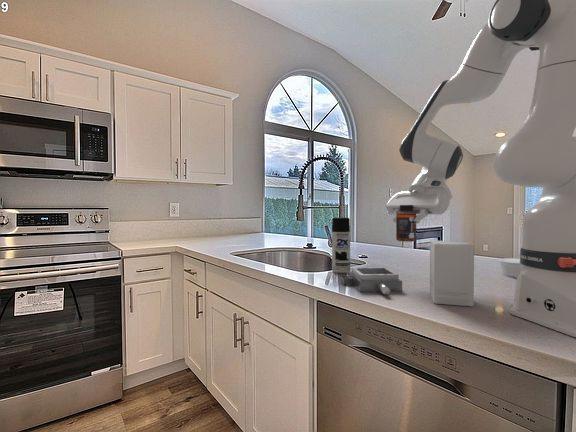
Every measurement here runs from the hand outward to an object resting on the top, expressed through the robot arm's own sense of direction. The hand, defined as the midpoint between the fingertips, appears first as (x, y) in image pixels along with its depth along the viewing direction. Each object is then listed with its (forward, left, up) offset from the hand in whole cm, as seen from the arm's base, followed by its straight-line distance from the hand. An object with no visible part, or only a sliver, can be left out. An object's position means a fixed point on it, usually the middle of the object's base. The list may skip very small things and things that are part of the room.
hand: (404, 221), depth 100 cm
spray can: (+18, +17, -19) cm, 31 cm away
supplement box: (-19, -4, -19) cm, 28 cm away
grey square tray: (-6, +12, -19) cm, 23 cm away
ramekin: (+8, -42, -20) cm, 47 cm away
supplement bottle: (0, -1, -6) cm, 6 cm away
